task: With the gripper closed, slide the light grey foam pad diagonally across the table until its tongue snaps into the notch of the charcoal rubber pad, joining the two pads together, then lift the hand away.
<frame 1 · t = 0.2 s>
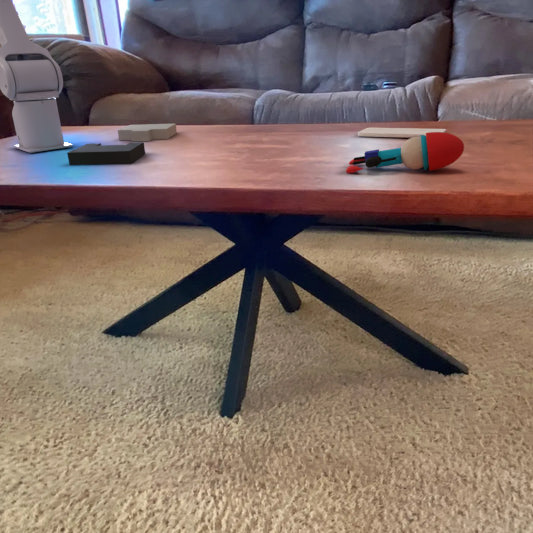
black pad: (108, 159, 84), on the table
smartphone: (401, 135, 95), on the table
grey pad: (148, 136, 106), on the table
toy figure: (403, 171, 69), on the table
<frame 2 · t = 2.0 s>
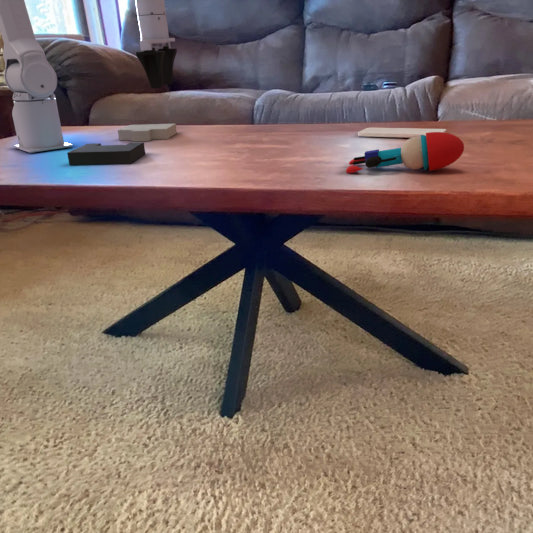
hand: (162, 86, 109), 9 cm above the table, tool pointing down, fingers open, 7 cm apart
nothing on the table moved.
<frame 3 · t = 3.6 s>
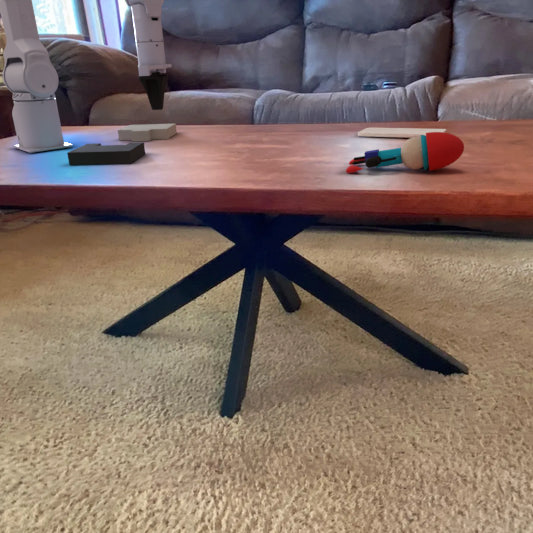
hand: (157, 109, 112), 4 cm above the table, tool pointing down, fingers closed
nothing on the table moved.
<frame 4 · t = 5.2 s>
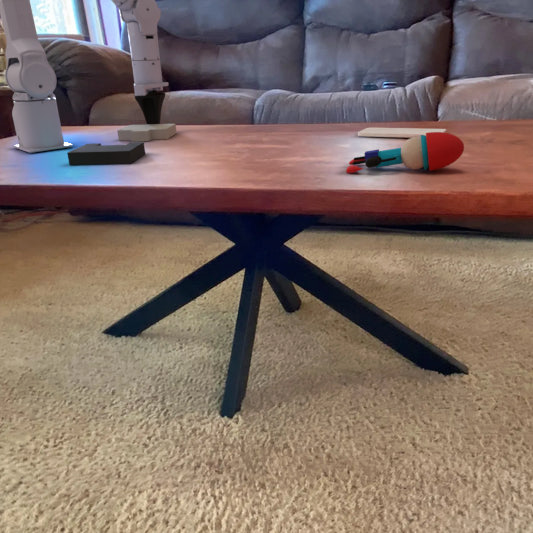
hand: (154, 128, 110), 1 cm above the table, tool pointing down, fingers closed
grey pad: (148, 136, 105), on the table, touching gripper
everything else where it was.
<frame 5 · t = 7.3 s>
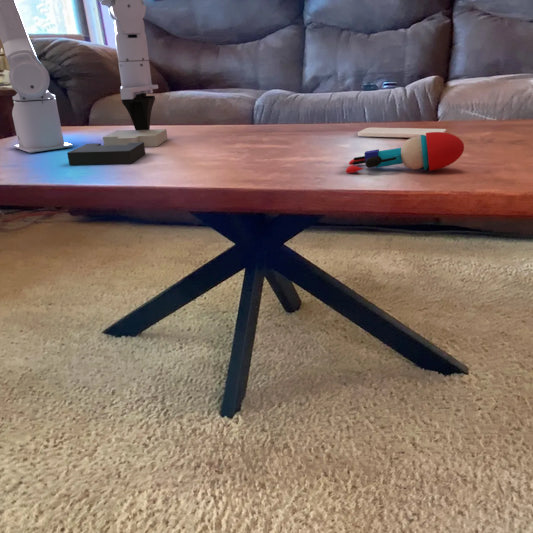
hand: (143, 134, 102), 1 cm above the table, tool pointing down, fingers closed
grey pad: (137, 143, 98), on the table, touching gripper
everything else where it was.
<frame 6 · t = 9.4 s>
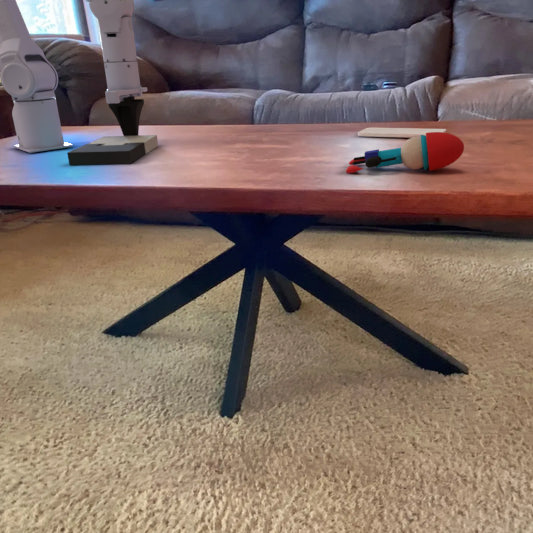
hand: (131, 140, 95), 1 cm above the table, tool pointing down, fingers closed
grey pad: (124, 150, 91), on the table, touching black pad, gripper
everything else where it was.
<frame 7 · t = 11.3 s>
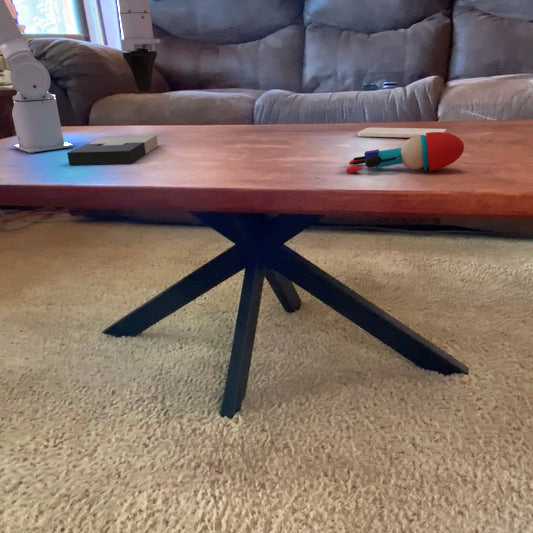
hand: (144, 91, 100), 9 cm above the table, tool pointing down, fingers closed
grey pad: (124, 150, 91), on the table, touching black pad
everything else where it was.
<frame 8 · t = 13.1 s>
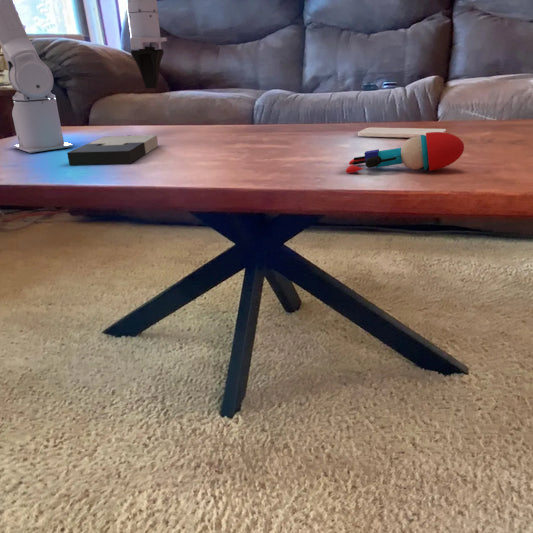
hand: (151, 88, 103), 9 cm above the table, tool pointing down, fingers closed
nothing on the table moved.
at the end: grey pad 8.0 cm from the black pad (horizontally); grey pad moved 16.0 cm from its start; grey pad tilted 0° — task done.
